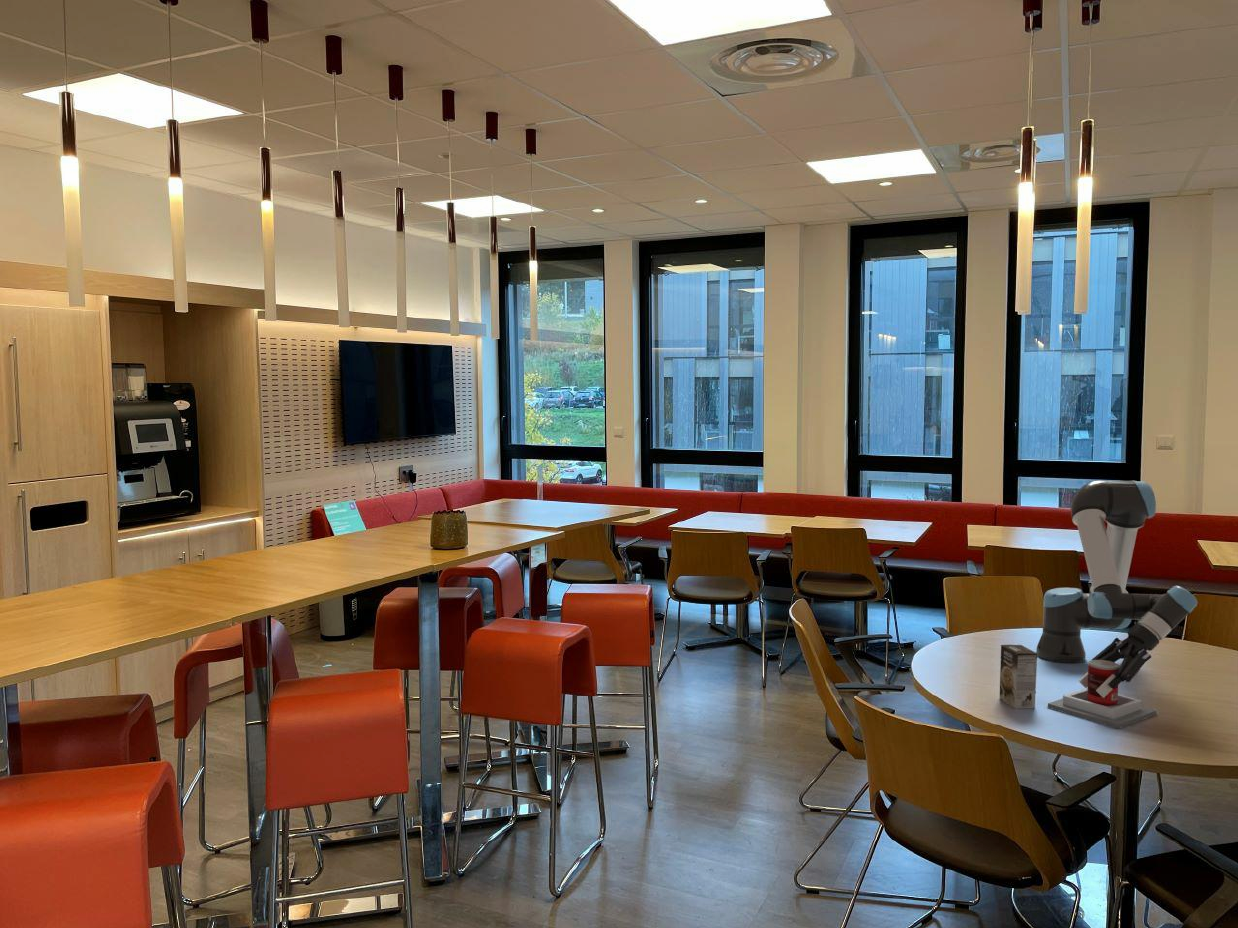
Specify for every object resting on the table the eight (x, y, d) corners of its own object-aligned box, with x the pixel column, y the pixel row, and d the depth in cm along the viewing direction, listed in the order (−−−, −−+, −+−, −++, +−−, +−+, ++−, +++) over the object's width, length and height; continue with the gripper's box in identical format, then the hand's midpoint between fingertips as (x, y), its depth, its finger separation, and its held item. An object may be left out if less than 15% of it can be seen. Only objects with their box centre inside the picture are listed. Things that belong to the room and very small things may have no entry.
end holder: (1047, 707, 257) (1048, 694, 257) (1086, 694, 268) (1086, 682, 268) (1118, 728, 241) (1119, 715, 240) (1156, 714, 252) (1157, 701, 251)
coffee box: (998, 698, 265) (1000, 644, 264) (1019, 697, 266) (1021, 643, 265) (1014, 708, 256) (1016, 652, 255) (1036, 708, 257) (1038, 652, 256)
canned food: (1114, 698, 257) (1116, 660, 256) (1120, 707, 249) (1121, 668, 249) (1084, 695, 259) (1086, 658, 259) (1089, 704, 252) (1090, 666, 251)
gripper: (1182, 651, 244) (1122, 710, 244) (1134, 631, 264) (1078, 686, 265) (1164, 632, 243) (1103, 692, 243) (1117, 614, 264) (1061, 669, 264)
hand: (1090, 689), depth 254 cm, fingers closed on canned food, 8 cm apart
